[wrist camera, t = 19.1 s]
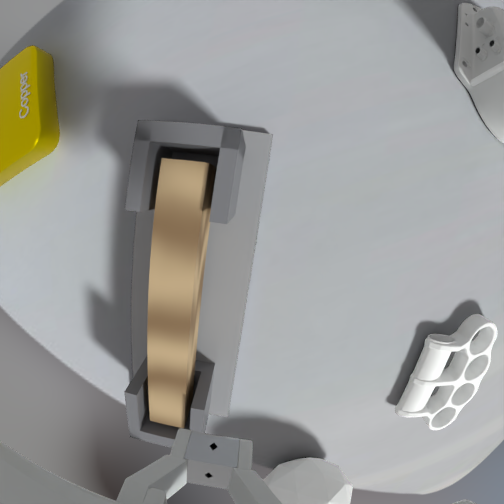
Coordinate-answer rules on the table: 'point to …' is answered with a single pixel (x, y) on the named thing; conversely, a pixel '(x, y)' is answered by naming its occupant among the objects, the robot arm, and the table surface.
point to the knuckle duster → (448, 373)
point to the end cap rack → (216, 265)
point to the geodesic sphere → (309, 482)
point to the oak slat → (177, 285)
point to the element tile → (27, 111)
